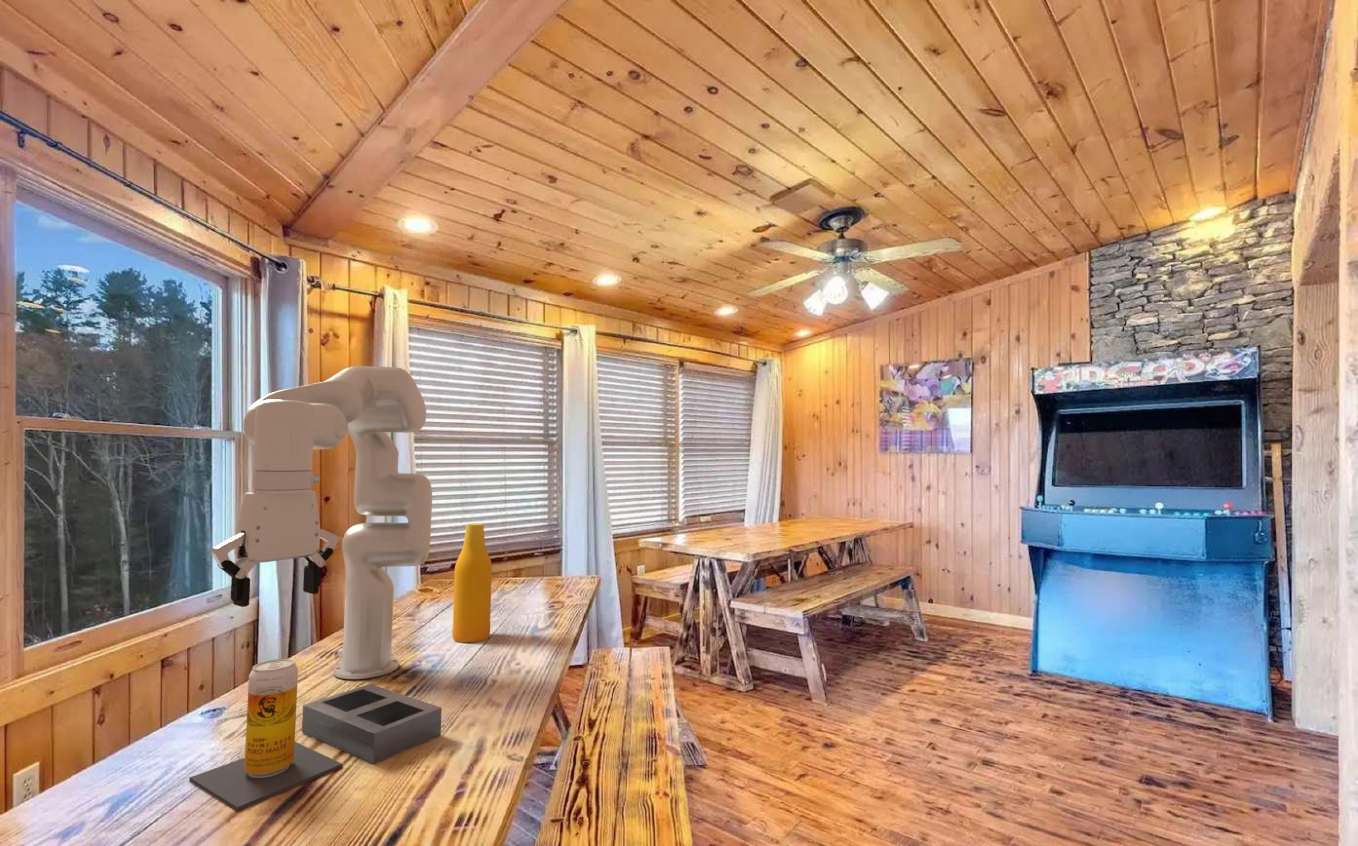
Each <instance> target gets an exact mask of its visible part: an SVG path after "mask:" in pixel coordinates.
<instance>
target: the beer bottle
mask: <svg viewBox="0 0 1358 846" xmlns="http://www.w3.org/2000/svg"><path fill="white" fill-rule="evenodd" d="M484 529H485V528H484V523H474V522H473V523H467V524H466V526H465V533H464V540H463V545H462V550H461V552H460V554H459V556H458V558H457V560H456V563H455V566H454V580H453V581H454V583H453V587H454V588H453V613H452V631H451V634H452V639H453V640H454V641H455V642H456V641H458V642H457V643H461V642H473V643H479V642H483V641H485V639H486V640H487V639H488V638H489V637H490V634H491V613H492V612H491V610H492V609H491V607H492V605H491V604H492V579H493V578H492V577H493V567H492V560H491V557H490V555H489V553H488V551H487V548H486V541H485V530H484ZM478 641H479V642H478Z"/></svg>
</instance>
